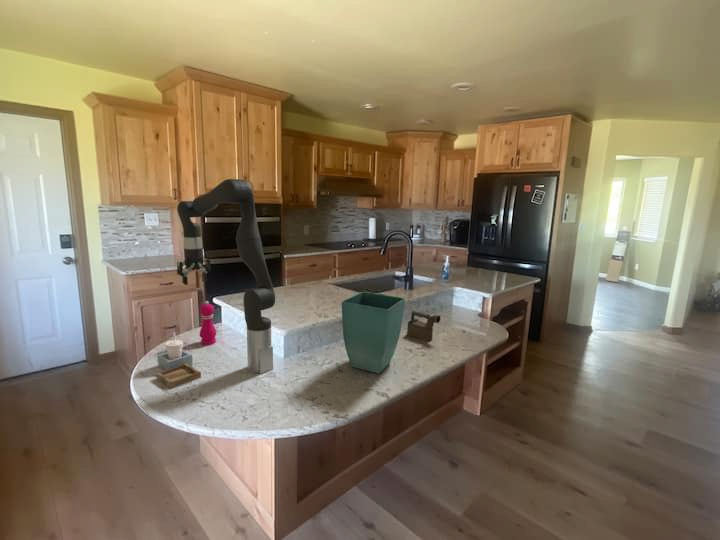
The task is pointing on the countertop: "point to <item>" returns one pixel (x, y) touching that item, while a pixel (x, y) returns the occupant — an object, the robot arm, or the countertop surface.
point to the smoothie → (174, 348)
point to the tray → (178, 375)
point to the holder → (167, 364)
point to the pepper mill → (207, 325)
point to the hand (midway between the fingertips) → (195, 283)
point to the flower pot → (371, 329)
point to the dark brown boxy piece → (422, 326)
